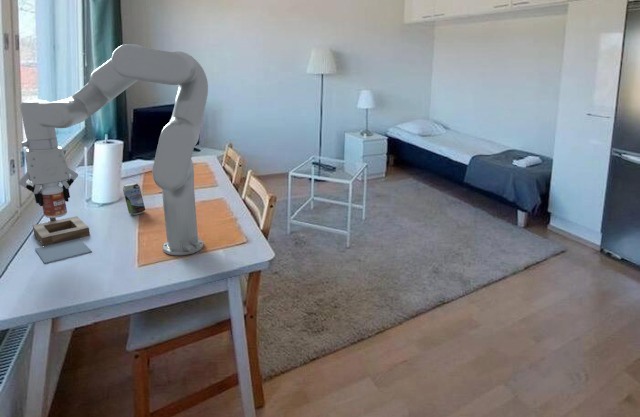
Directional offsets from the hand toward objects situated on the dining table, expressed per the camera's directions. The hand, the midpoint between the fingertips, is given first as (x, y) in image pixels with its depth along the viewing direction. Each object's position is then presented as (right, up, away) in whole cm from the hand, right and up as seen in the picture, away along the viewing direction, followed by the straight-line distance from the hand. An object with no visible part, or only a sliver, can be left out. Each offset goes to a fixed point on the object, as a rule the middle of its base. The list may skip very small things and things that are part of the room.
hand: (53, 202), depth 137 cm
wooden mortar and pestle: (-9, -10, +19) cm, 24 cm away
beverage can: (+9, -4, +38) cm, 39 cm away
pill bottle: (0, -4, +1) cm, 4 cm away
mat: (0, -15, +5) cm, 16 cm away
